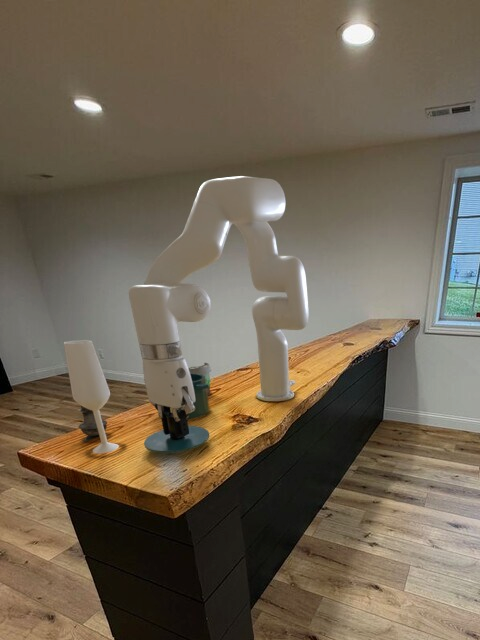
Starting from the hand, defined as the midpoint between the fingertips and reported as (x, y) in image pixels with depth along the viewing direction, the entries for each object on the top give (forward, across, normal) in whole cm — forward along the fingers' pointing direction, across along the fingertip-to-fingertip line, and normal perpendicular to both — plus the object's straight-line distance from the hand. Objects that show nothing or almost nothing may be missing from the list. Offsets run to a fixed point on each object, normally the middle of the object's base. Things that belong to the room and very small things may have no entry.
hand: (176, 433), depth 77 cm
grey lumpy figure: (+4, +23, +6) cm, 24 cm away
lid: (+1, 0, 0) cm, 1 cm away
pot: (+4, +18, -18) cm, 25 cm away
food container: (+5, +28, -32) cm, 43 cm away
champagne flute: (+4, +14, +8) cm, 17 cm away
